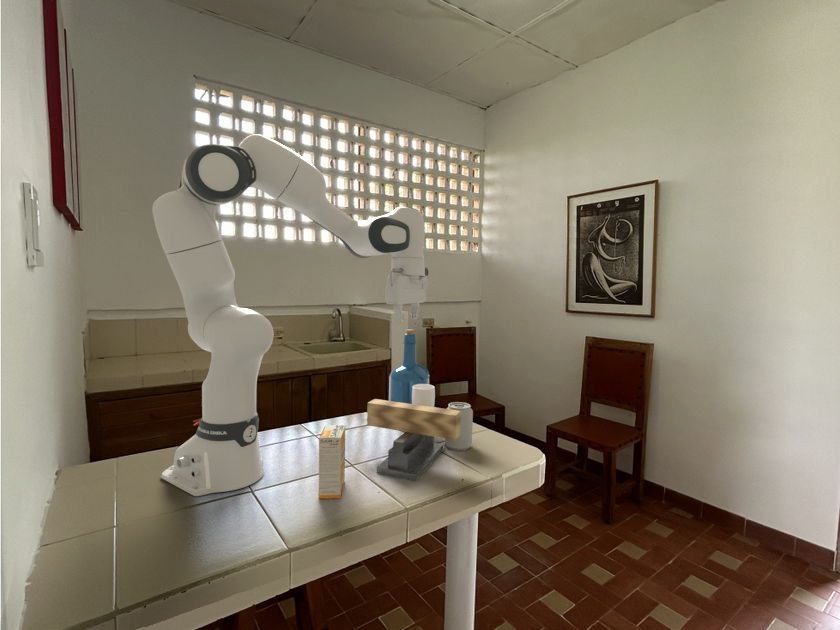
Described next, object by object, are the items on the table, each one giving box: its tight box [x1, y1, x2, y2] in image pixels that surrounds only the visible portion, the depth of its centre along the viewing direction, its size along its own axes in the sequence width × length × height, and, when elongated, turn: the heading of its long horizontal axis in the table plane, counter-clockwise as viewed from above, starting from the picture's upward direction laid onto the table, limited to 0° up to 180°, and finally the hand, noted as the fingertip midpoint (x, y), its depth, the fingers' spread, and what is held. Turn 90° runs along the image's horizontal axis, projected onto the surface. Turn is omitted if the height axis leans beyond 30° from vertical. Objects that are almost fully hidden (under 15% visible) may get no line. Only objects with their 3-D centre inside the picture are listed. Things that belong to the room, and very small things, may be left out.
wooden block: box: [366, 398, 461, 440], centre depth 105 cm, size 24×4×6 cm, turn 68°
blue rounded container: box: [388, 328, 430, 404], centre depth 137 cm, size 14×13×30 cm
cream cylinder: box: [412, 383, 436, 407], centre depth 122 cm, size 7×7×15 cm
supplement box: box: [317, 424, 346, 500], centre depth 89 cm, size 8×5×13 cm, turn 4°
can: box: [444, 401, 474, 452], centre depth 115 cm, size 8×8×12 cm
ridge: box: [376, 432, 445, 482], centre depth 105 cm, size 10×20×8 cm, turn 158°
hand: (406, 320), depth 113 cm, fingers open, 8 cm apart
